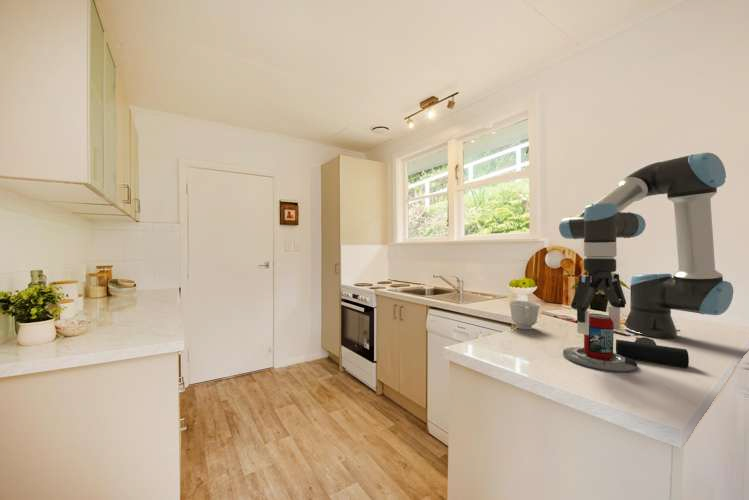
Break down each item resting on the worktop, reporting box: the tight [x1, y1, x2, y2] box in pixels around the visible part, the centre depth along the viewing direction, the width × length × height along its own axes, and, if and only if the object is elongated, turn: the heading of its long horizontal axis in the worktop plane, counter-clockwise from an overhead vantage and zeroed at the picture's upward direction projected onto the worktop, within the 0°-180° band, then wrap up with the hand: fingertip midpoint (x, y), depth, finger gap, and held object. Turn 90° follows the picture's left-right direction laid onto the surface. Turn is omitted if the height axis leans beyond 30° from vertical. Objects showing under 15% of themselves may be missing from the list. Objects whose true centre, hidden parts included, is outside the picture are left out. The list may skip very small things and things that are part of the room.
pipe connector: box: [615, 336, 690, 369], centre depth 90 cm, size 12×5×15 cm
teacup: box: [507, 300, 542, 330], centre depth 121 cm, size 12×15×10 cm
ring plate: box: [562, 346, 638, 374], centre depth 87 cm, size 17×17×2 cm
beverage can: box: [583, 312, 615, 360], centre depth 87 cm, size 7×7×12 cm
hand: (599, 331), depth 87 cm, fingers open, 13 cm apart
